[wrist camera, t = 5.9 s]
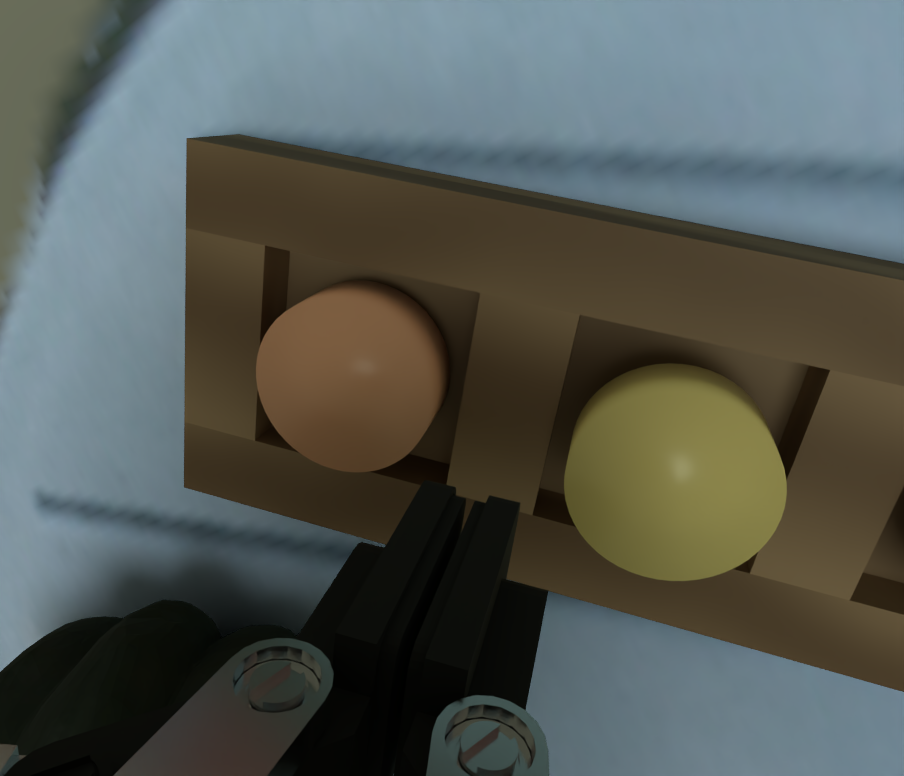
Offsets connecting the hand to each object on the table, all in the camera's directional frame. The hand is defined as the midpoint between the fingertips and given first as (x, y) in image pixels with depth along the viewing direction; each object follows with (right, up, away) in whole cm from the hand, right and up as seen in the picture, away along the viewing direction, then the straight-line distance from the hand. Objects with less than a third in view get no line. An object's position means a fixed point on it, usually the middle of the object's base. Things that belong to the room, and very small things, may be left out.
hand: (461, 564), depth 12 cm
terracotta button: (-2, +4, +7) cm, 8 cm away
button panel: (+6, +2, +7) cm, 10 cm away
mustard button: (+5, +1, +5) cm, 7 cm away
